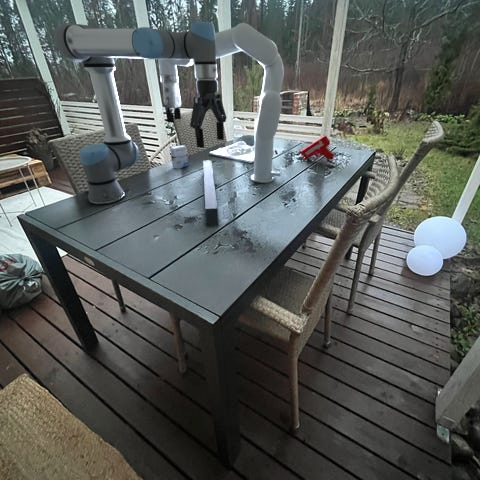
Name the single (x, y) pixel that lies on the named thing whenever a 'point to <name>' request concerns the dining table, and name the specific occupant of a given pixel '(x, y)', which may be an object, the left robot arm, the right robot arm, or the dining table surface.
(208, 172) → the bar
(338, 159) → the dining table surface
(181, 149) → the ink box
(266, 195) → the dining table surface
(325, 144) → the toy gun
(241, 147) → the relief map
